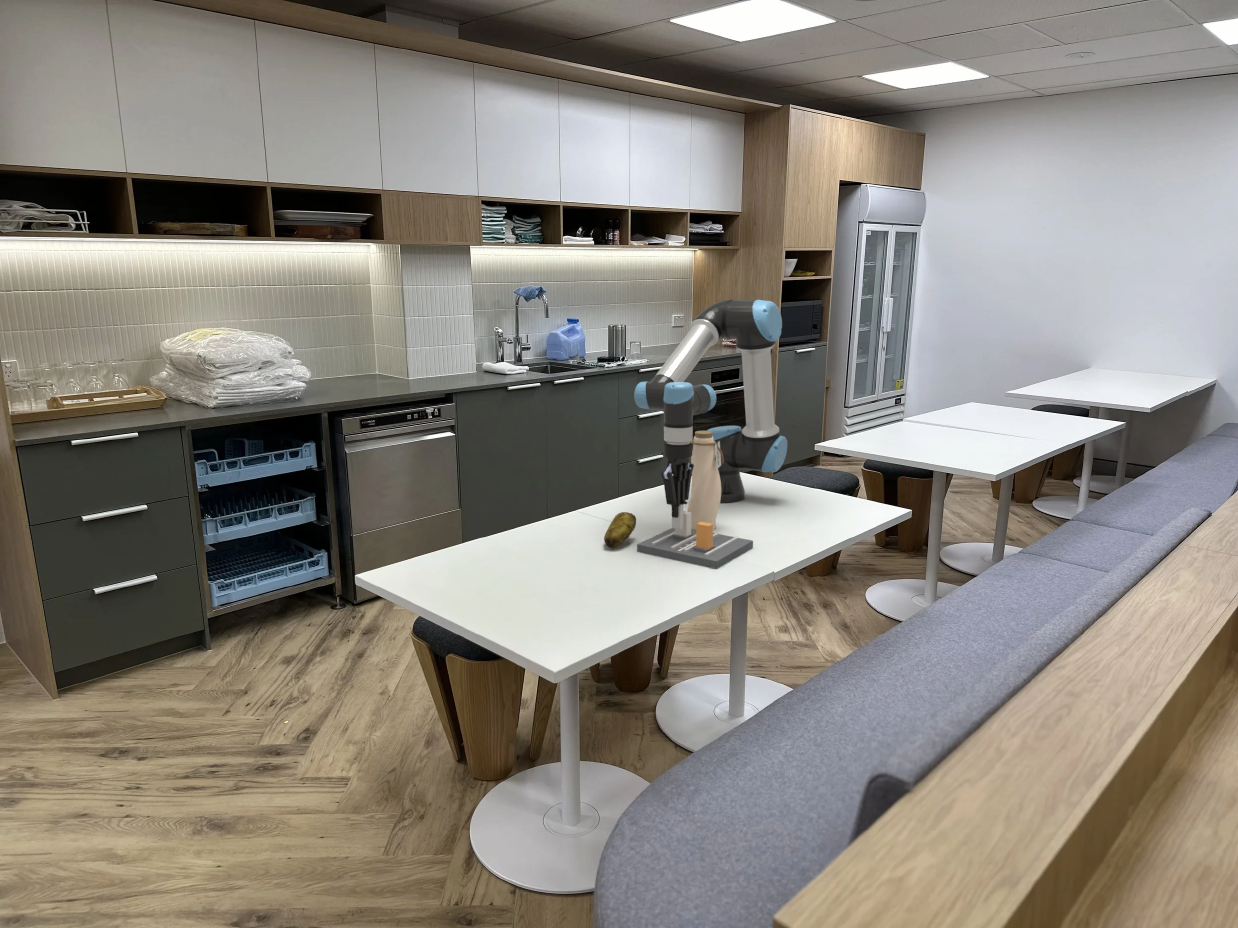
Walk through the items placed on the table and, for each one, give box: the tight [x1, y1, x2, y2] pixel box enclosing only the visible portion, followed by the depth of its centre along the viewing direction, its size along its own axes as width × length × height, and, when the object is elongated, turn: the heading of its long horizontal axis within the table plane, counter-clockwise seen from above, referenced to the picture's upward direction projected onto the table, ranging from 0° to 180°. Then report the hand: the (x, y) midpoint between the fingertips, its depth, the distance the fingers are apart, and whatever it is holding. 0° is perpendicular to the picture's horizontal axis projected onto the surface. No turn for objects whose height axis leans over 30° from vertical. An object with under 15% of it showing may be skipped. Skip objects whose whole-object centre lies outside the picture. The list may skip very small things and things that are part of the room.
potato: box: [603, 511, 637, 549], centre depth 235 cm, size 8×13×8 cm, turn 138°
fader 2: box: [694, 522, 715, 553], centre depth 223 cm, size 4×4×7 cm
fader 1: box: [673, 510, 693, 540], centre depth 233 cm, size 4×4×7 cm
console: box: [636, 527, 754, 570], centre depth 230 cm, size 20×24×3 cm
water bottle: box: [686, 430, 724, 530], centre depth 247 cm, size 10×9×28 cm
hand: (677, 527), depth 231 cm, fingers closed
